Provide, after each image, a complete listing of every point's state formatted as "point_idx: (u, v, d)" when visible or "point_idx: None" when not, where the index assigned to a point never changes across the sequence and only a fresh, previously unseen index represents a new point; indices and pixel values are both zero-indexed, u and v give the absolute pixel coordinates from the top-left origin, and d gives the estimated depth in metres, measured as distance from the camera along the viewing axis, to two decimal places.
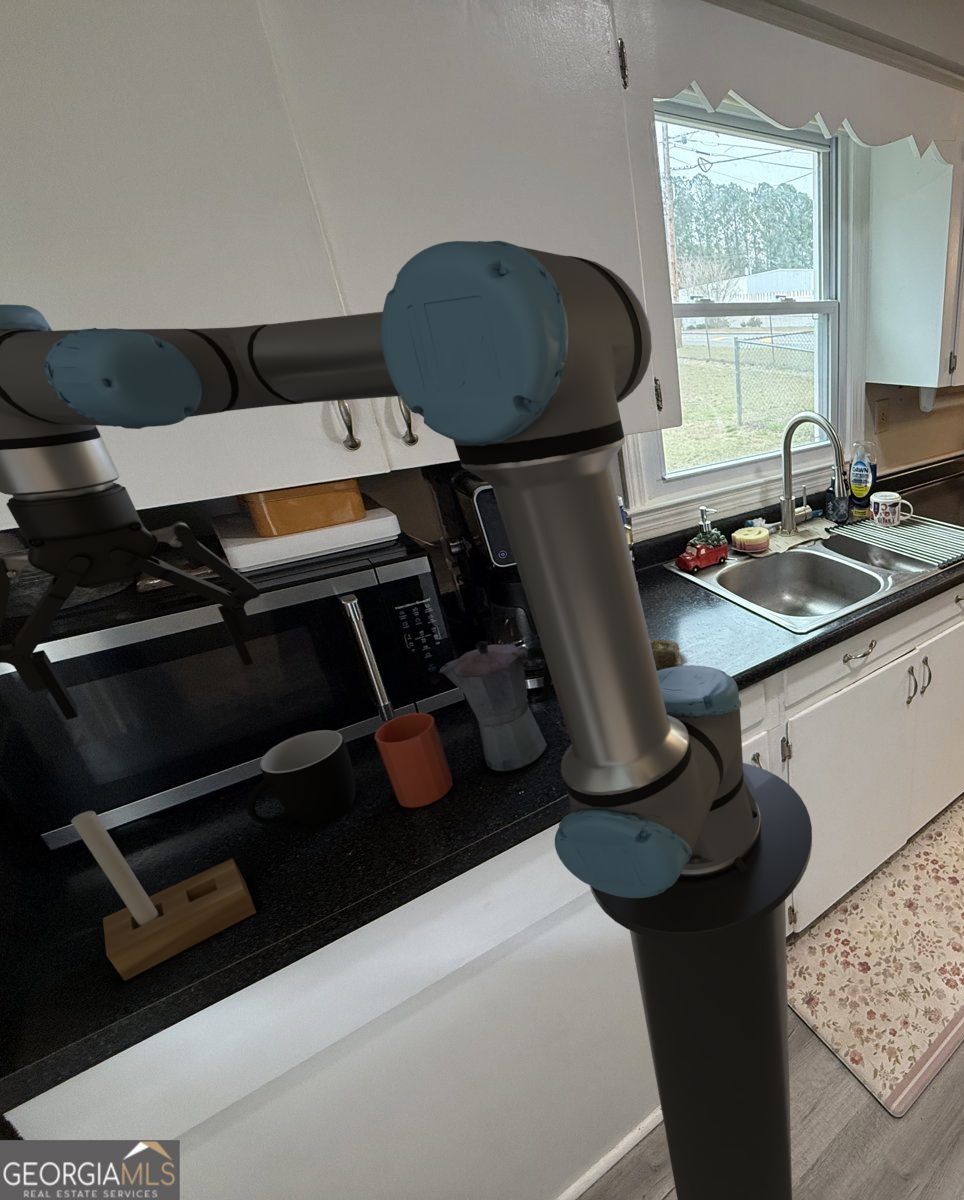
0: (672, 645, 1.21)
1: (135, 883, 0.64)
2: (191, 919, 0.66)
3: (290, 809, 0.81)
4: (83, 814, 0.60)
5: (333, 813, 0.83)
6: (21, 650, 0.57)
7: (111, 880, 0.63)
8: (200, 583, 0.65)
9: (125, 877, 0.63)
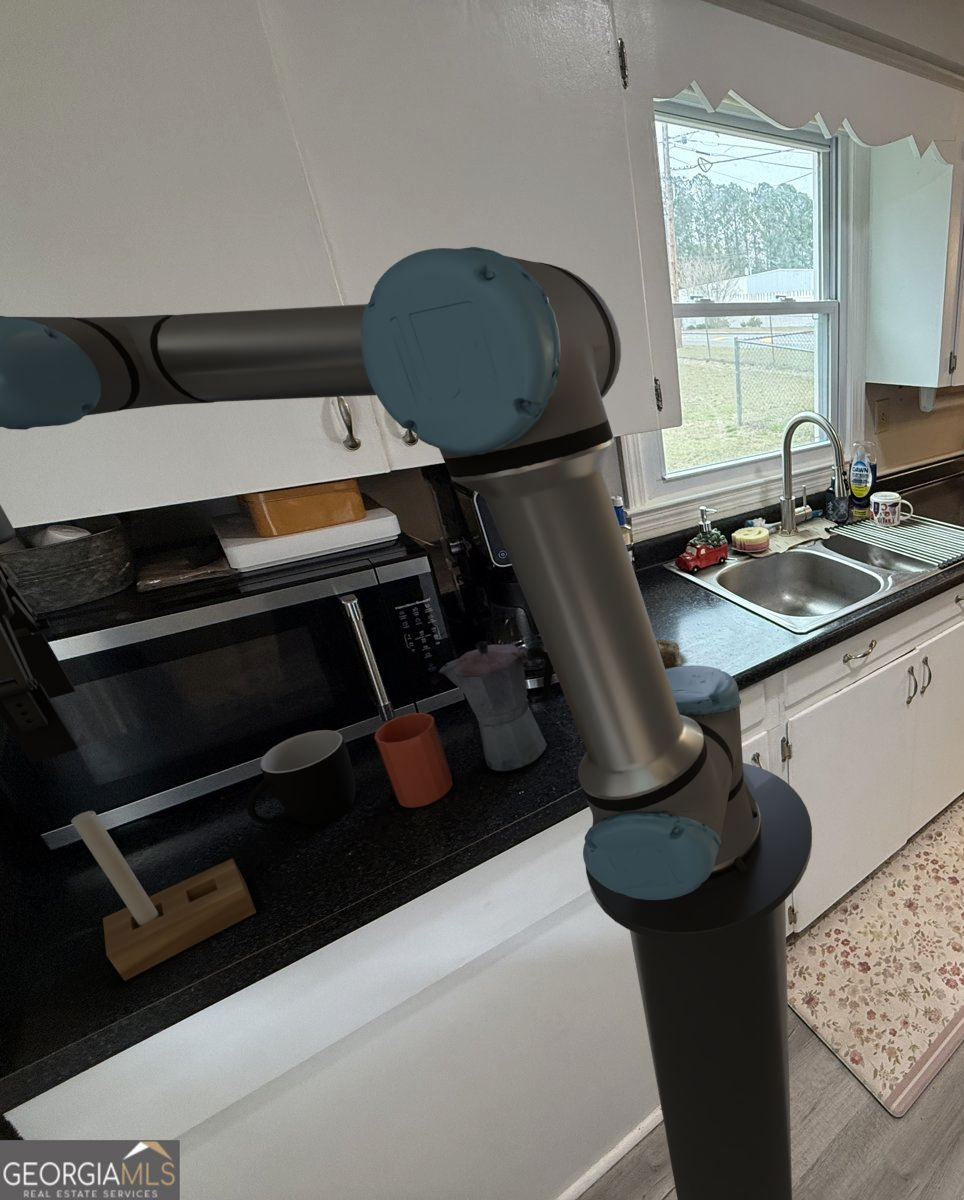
0: (672, 645, 1.21)
1: (135, 883, 0.64)
2: (191, 919, 0.66)
3: (290, 809, 0.81)
4: (83, 814, 0.60)
5: (333, 813, 0.83)
6: (29, 674, 0.51)
7: (111, 880, 0.63)
8: (18, 602, 0.58)
9: (125, 877, 0.63)
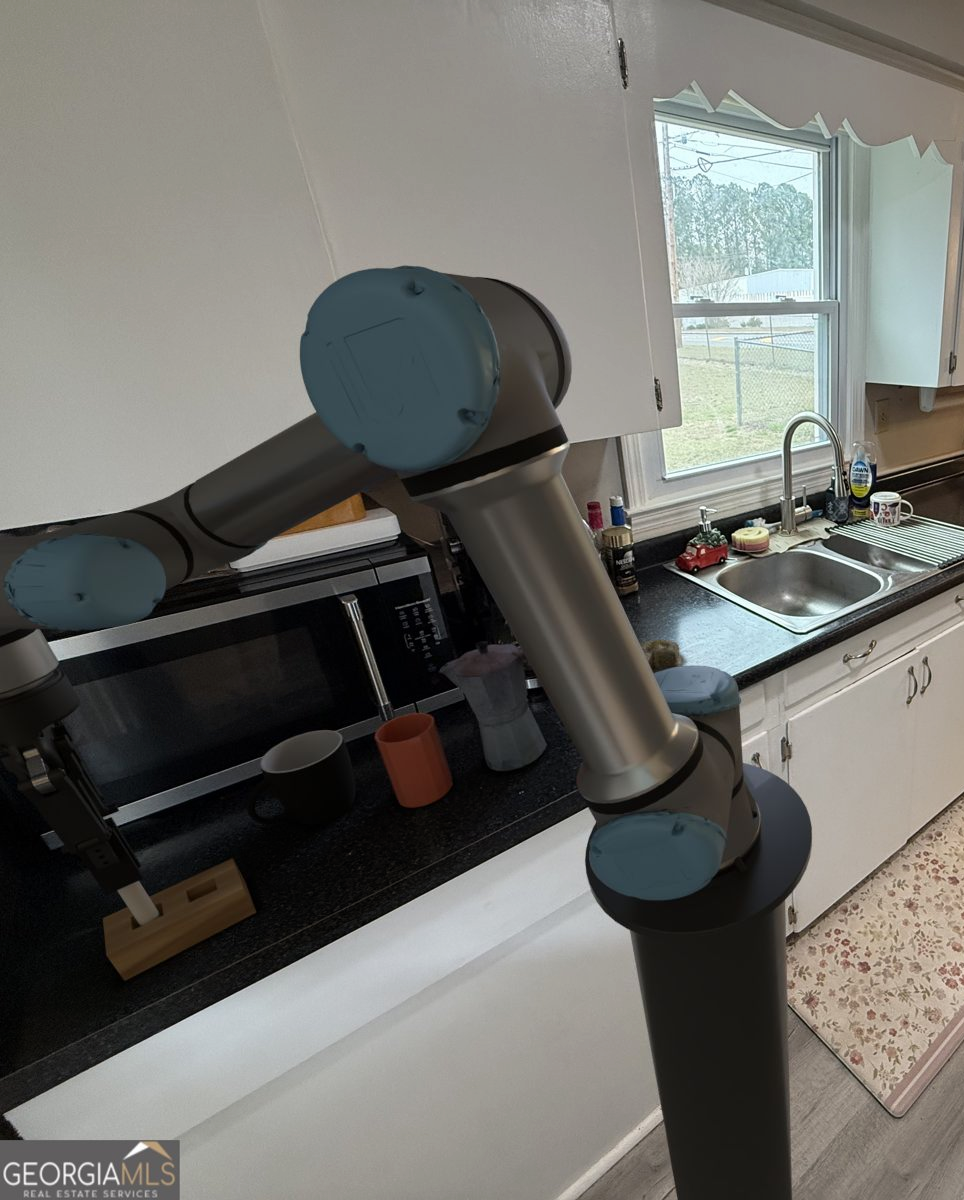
0: (672, 645, 1.21)
1: (135, 882, 0.64)
2: (191, 919, 0.66)
3: (290, 809, 0.81)
4: None
5: (333, 813, 0.83)
6: (105, 824, 0.60)
7: None
8: (87, 781, 0.61)
9: None
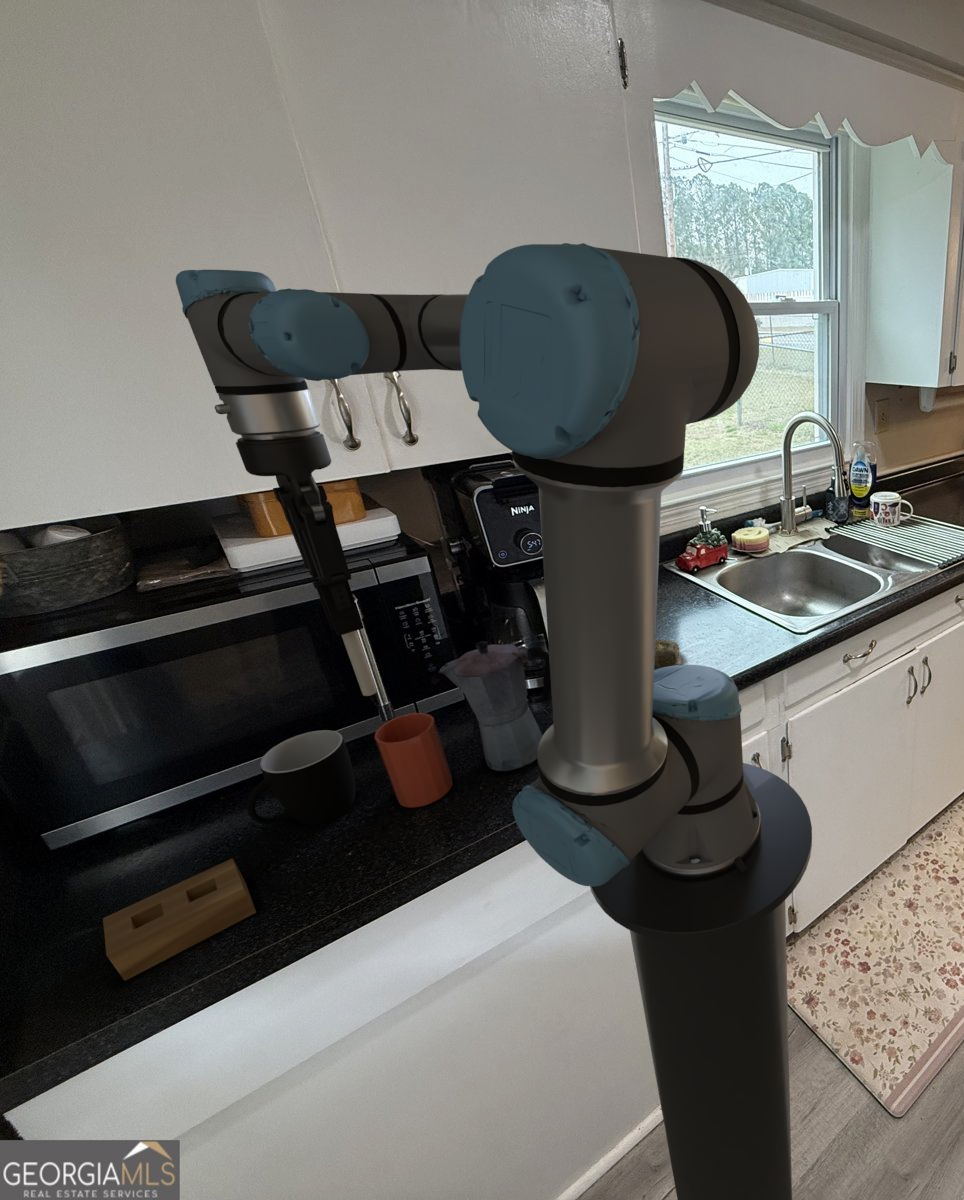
0: (672, 645, 1.21)
1: (356, 632, 0.76)
2: (191, 919, 0.66)
3: (290, 809, 0.81)
4: None
5: (333, 813, 0.83)
6: None
7: None
8: None
9: None
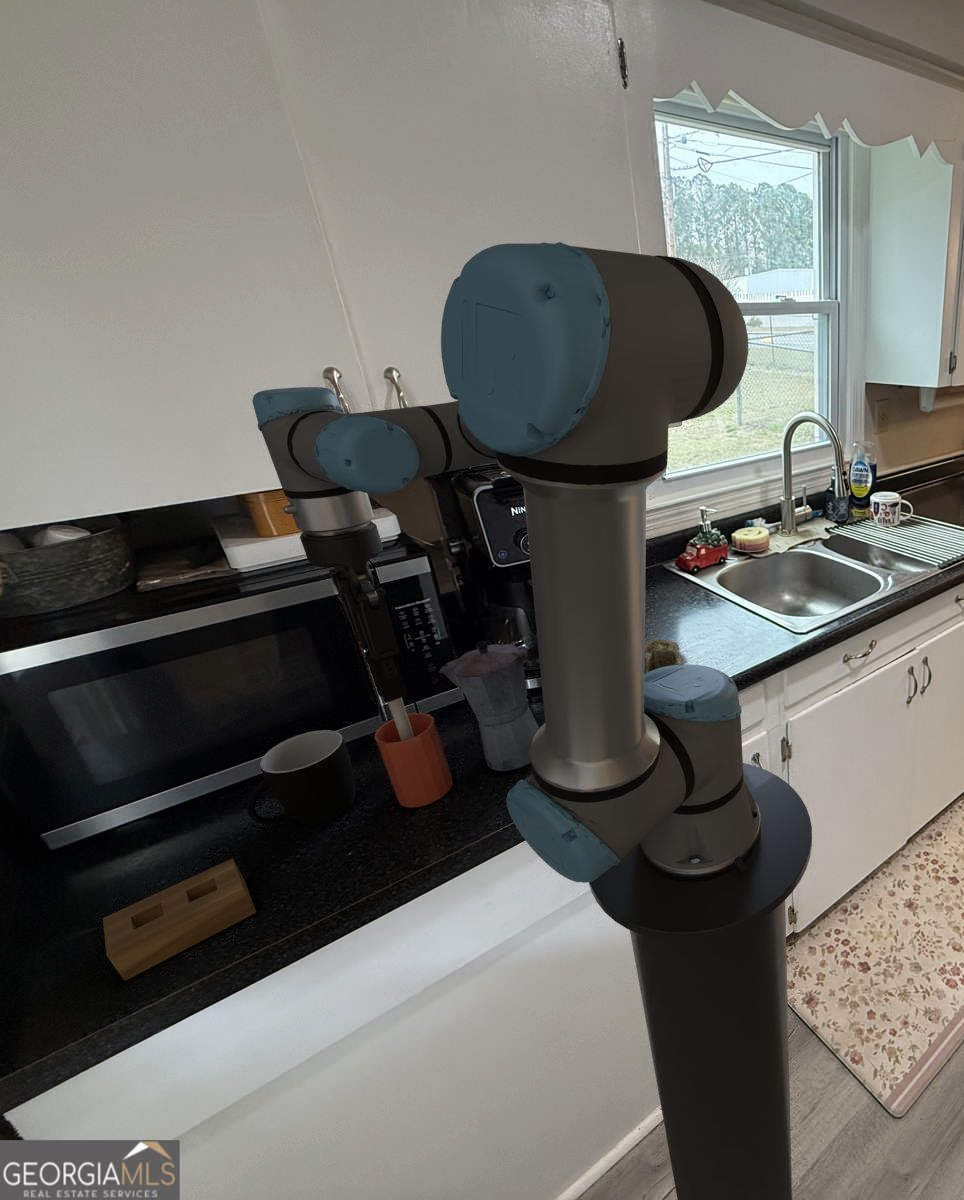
0: (672, 645, 1.21)
1: (401, 698, 0.83)
2: (191, 919, 0.66)
3: (290, 809, 0.81)
4: None
5: (333, 813, 0.83)
6: None
7: None
8: None
9: None
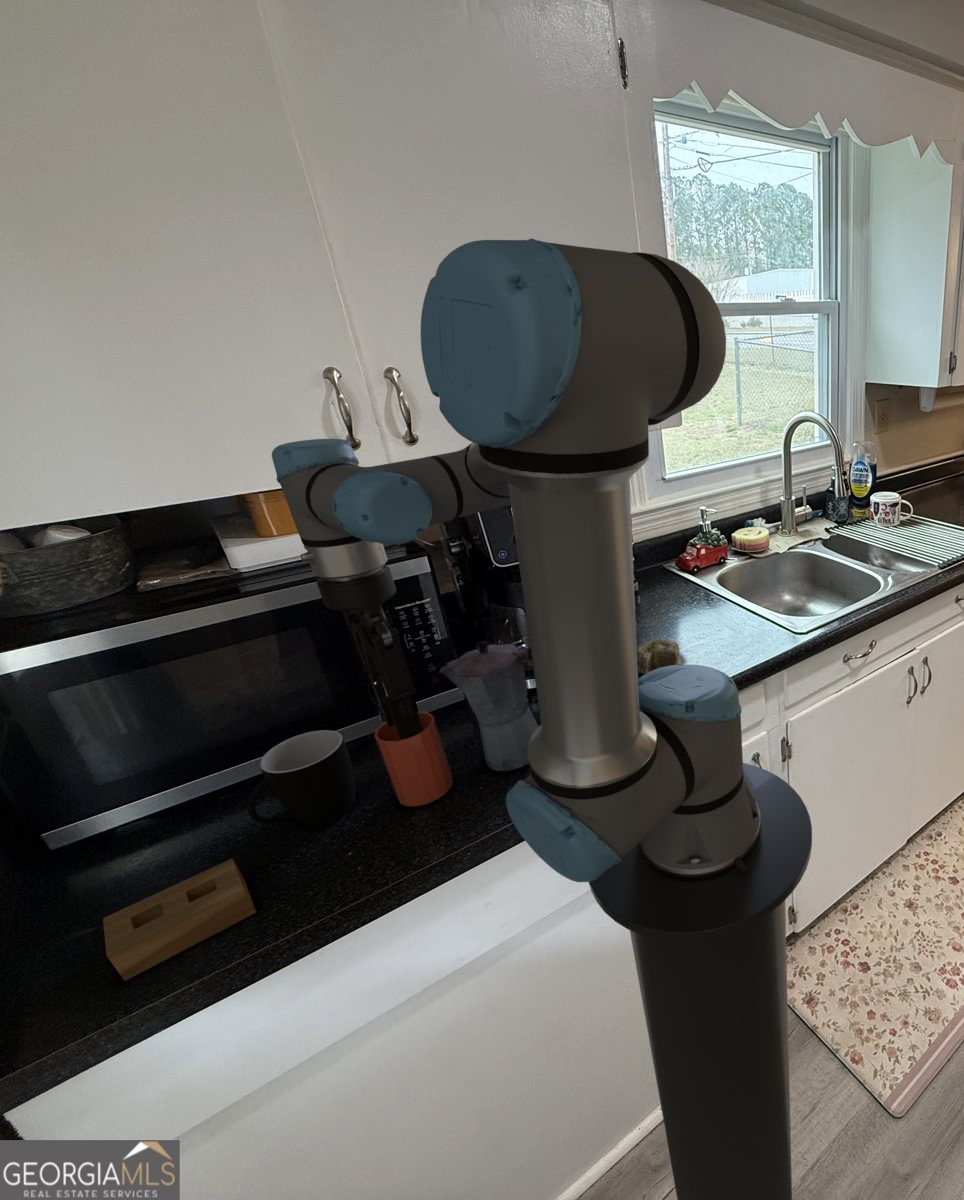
0: (672, 645, 1.21)
1: None
2: (191, 919, 0.66)
3: (290, 809, 0.81)
4: None
5: (333, 813, 0.83)
6: None
7: None
8: None
9: None
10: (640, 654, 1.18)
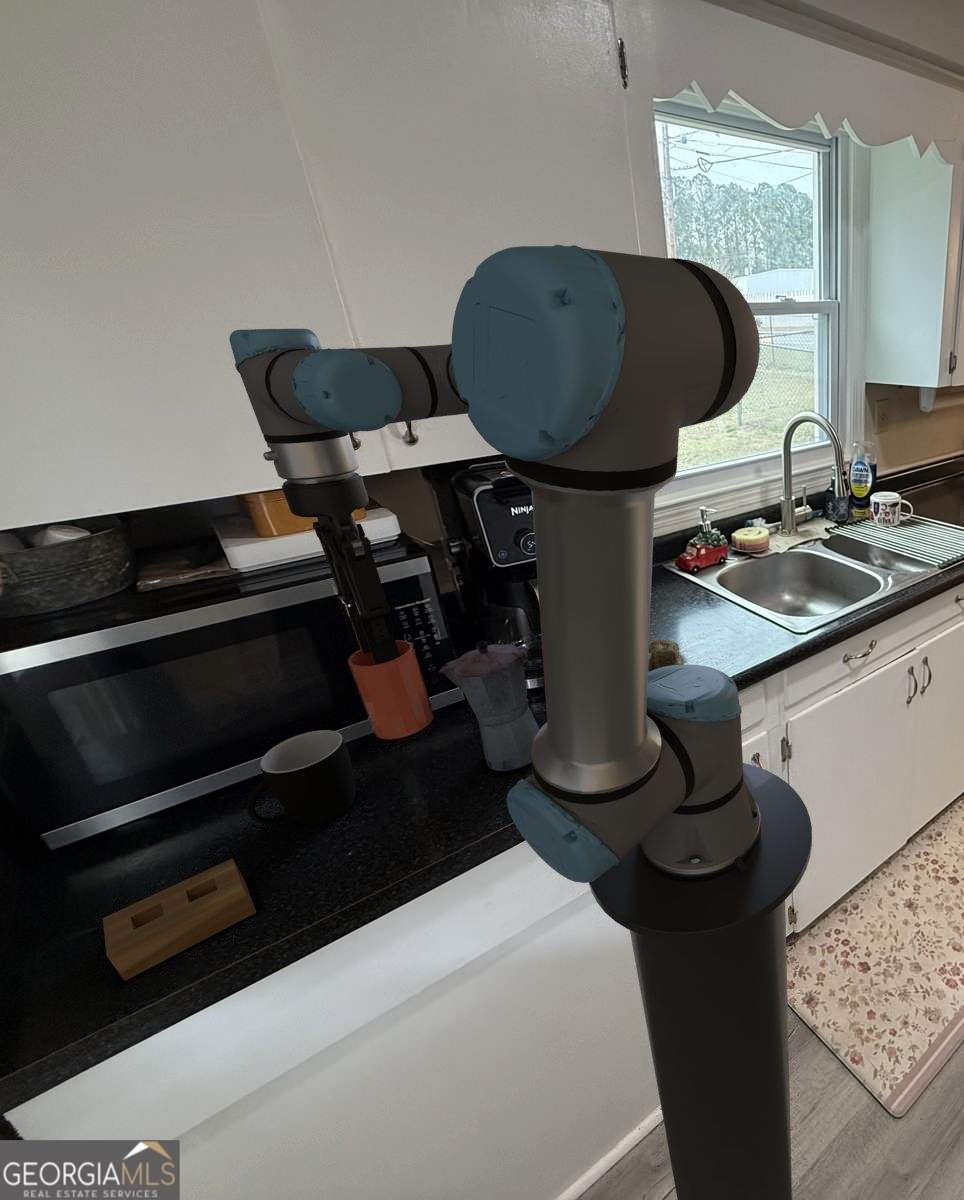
0: (672, 645, 1.21)
1: None
2: (191, 919, 0.66)
3: (290, 809, 0.81)
4: None
5: (333, 813, 0.83)
6: None
7: None
8: None
9: None
10: None
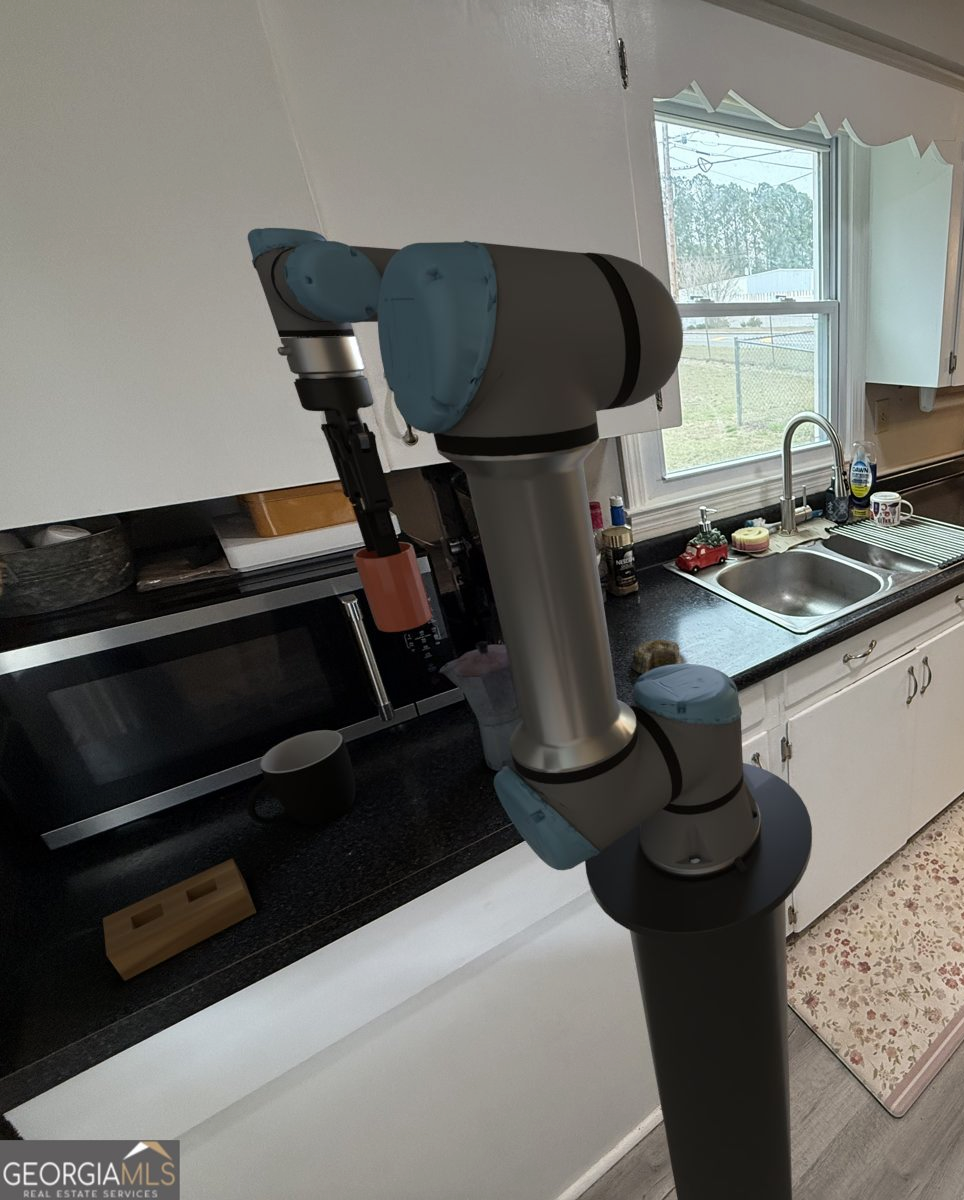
0: (672, 645, 1.21)
1: None
2: (191, 919, 0.66)
3: (290, 809, 0.81)
4: None
5: (333, 813, 0.83)
6: None
7: None
8: None
9: None
10: (640, 654, 1.18)
